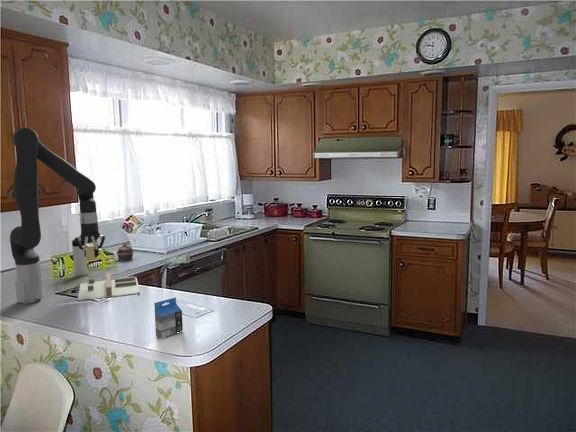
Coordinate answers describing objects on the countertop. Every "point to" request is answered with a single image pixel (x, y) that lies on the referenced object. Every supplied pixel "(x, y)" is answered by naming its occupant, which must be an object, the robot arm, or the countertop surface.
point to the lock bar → (90, 252)
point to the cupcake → (125, 252)
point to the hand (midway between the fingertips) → (91, 257)
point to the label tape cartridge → (167, 318)
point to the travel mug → (79, 260)
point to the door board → (103, 290)
